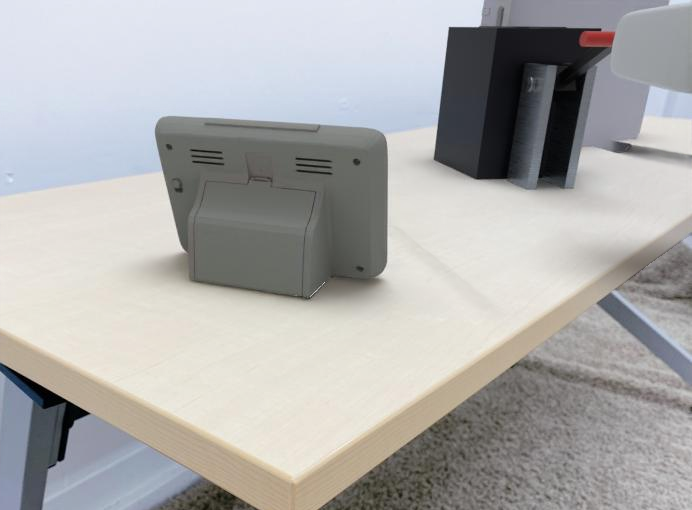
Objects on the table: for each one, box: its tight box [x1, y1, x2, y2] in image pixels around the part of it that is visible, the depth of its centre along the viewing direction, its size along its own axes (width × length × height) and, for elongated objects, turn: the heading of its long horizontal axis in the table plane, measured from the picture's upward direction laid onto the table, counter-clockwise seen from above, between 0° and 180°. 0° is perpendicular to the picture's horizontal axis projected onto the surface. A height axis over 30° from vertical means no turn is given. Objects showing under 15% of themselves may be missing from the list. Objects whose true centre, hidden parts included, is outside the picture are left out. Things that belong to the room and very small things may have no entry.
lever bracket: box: [506, 63, 597, 190], centre depth 71 cm, size 5×7×13 cm
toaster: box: [433, 25, 602, 181], centre depth 78 cm, size 12×11×16 cm
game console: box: [479, 0, 671, 153], centre depth 93 cm, size 6×27×20 cm, turn 115°
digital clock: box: [154, 115, 389, 298], centre depth 48 cm, size 16×9×11 cm, turn 55°
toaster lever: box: [551, 31, 616, 102], centre depth 65 cm, size 11×6×2 cm, turn 8°
